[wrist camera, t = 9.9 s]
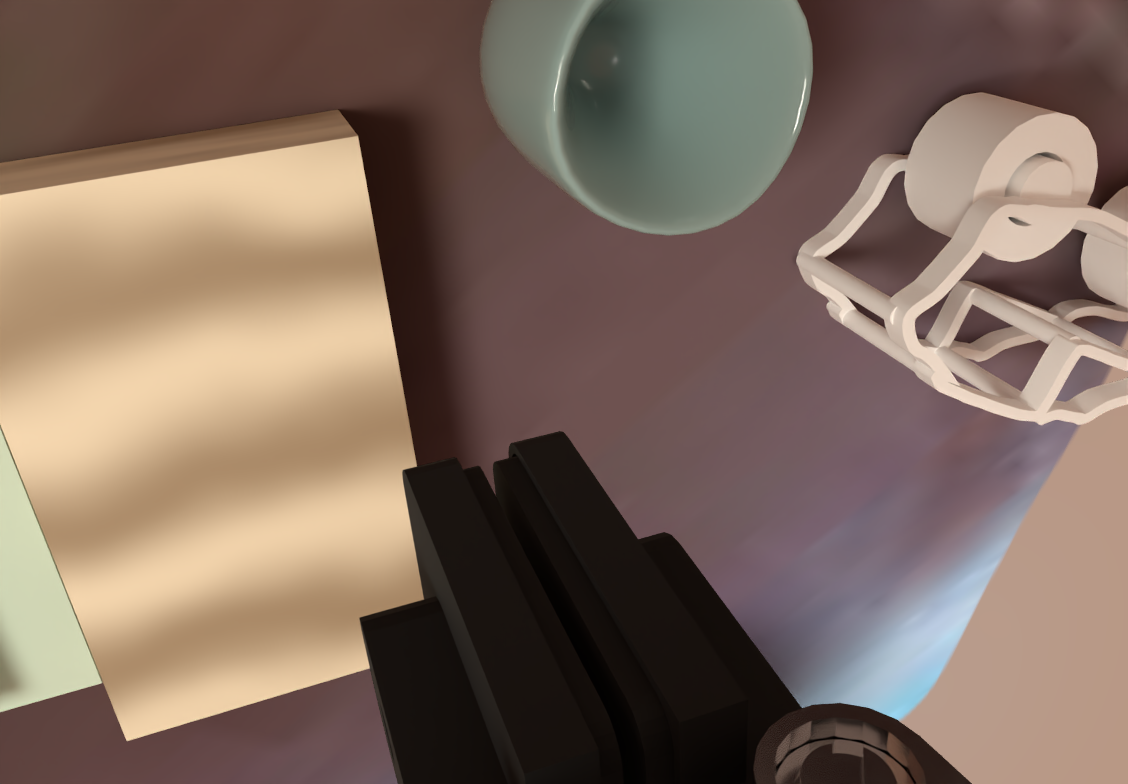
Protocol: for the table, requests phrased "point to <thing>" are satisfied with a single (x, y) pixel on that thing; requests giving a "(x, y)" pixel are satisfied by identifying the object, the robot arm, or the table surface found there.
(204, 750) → the table surface
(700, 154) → the cup
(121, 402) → the deck
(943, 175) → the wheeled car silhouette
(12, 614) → the mat
